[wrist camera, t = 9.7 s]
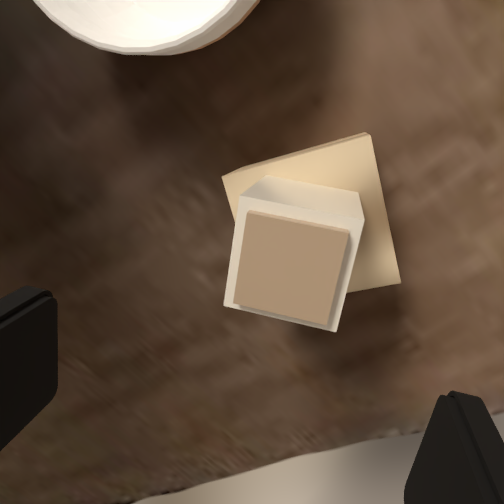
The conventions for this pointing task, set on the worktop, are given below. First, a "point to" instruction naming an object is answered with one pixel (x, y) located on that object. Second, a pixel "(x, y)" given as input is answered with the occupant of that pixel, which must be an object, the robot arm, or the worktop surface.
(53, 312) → the robot arm
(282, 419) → the worktop surface
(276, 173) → the block
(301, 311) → the white cube
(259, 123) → the worktop surface
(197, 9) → the bowl
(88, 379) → the worktop surface
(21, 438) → the worktop surface
